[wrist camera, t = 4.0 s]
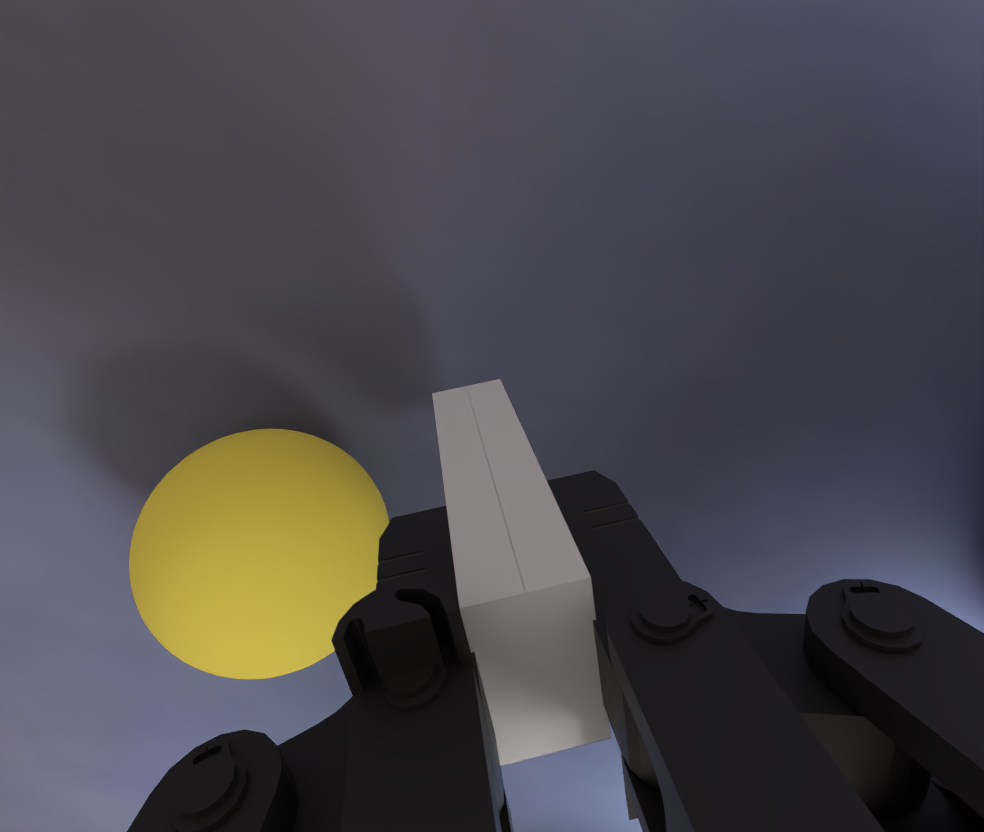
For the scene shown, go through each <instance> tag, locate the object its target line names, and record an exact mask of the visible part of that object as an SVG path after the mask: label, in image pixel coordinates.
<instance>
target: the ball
mask: <svg viewBox="0 0 984 832" xmlns="http://www.w3.org/2000/svg"><path fill="white" fill-rule="evenodd" d="M389 523H390V521H389V518H388V514H387V510H386V506H385V503H384V501H383V499H382V496H381V494H380V492H379V490H378V488H377V487H376V485H375V484H374V482H373V480H372V479H371V477H370V476H369V474H368V473H367V472H366V471H365V470H364V468H363V467H362V466H361V465H360V464H359V463H358V462H357V461H356V460H355V459H354V458H353V457H351V456H350V455H349V454H347V453H346V452H345V451H343V450H342V449H340V448H339V447H337V446H335V445H333V444H332V443H330V442H328V441H326V440H323V439H321V438H318V437H316V436H313V435H310V434H306V433H303V432H299V431H293V430H287V429H271V428H270V429H255V430H250V431H244V432H239V433H235V434H232V435H229V436H225V437H222V438H219V439H217V440H215V441H213V442H211V443H209V444H207V445H205V446H203V447H201V448H199V449H197V450H196V451H194V452H193V453H191V454H190V455H188V456H187V457H185V458H184V459H183V460H182V461H181V462H180V463H178V464H177V465H176V466H175V467H174V468H173V469H172V470H170V471H169V472H168V473H167V474H166V475H165V476H164V478H163V479H162V480H161V481H160V482H159V484H158V485H157V486H156V487H155V489H154V490H153V492H152V493H151V494H150V496H149V498H148V500H147V501H146V503H145V505H144V506H143V508H142V511H141V513H140V515H139V518H138V521H137V523H136V526H135V528H134V532H133V537H132V542H131V547H130V553H129V574H130V583H131V589H132V593H133V596H134V599H135V603H136V605H137V608H138V611H139V613H140V615H141V617H142V619H143V621H144V623H145V624H146V626H147V627H148V628H149V630H150V631H151V633H152V634H153V635H154V636H155V638H156V639H157V640H158V641H159V642H160V643H161V644H162V645H163V646H164V647H165V648H166V649H167V650H168V651H169V652H170V653H172V654H173V655H174V656H176V657H177V658H179V659H180V660H182V661H183V662H185V663H187V664H189V665H191V666H193V667H194V668H197V669H199V670H202V671H204V672H207V673H210V674H214V675H217V676H222V677H227V678H234V679H265V678H272V677H277V676H282V675H285V674H288V673H292V672H295V671H298V670H301V669H303V668H306V667H308V666H310V665H312V664H314V663H316V662H318V661H319V660H321V659H323V658H325V657H326V656H328V655H329V654H331V653H332V652H334V651H335V649H334V646H333V644H332V641H331V640H332V637H333V634H334V632H335V629H336V627H337V624H338V622H339V620H340V619H341V618H342V617H343V616H344V614H345V613H346V612H347V611H348V610H349V609H350V608H351V606H352V605H353V604H354V603H356V602H357V601H359V600H360V599H362V598H363V597H365V596H366V595H368V594H369V593H371V592H372V591H374V590H376V583H377V566H378V565H379V564H378V550H379V538H380V537H381V535H382V534H383V532H384V531H385V529H386V527H387V526H388V524H389Z"/></svg>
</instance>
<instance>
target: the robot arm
mask: <svg viewBox="0 0 984 832" xmlns="http://www.w3.org/2000/svg"><path fill="white" fill-rule="evenodd" d="M432 397H433V405H434V413H435V420H436V428H437V436H438V444H439V452H440V460H441V467H442V475H443V483H444V491H445V499H446V506H443V507H439V508H434V509H430V510H425V511H421V512H417V513H412V514H408V515H403V516H399V517H394V518H392V520H391V521H390V523H389V524H388V526H387V527H386V529H385V531H384V532H383V534H382V535H381V537H380V538H379V550H378V564H379V565H378V566H377V583H376V590H374V591H372V592H371V593H369V594H368V595H366V596H365V597H363V598H362V599H360V600H359V601H357V602H356V603H354V604H353V605H352V606H351V608H350V609H349V610H348V611H347V612H346V613H345V614H344V616H343V617H342V618H341V619H340V620H339V622H338V624H337V627H336V629H335V632H334V634H333V637H332V640H331V641H332V644H333V646H334V649H335V651H336V654H337V657H338V659H339V662H340V664H341V667H342V669H343V672H344V674H345V677H346V679H347V682H348V685H349V687H350V690H351V692H352V695H353V696H352V697H351V699H350V700H349V701H348V702H346V703H345V704H344V705H343V706H342V707H341V708H340V709H339V710H338V711H337V712H335V713H334V714H332V715H331V716H329V717H328V718H326V719H325V720H323V721H322V722H320V723H319V724H317V725H315V726H313V727H311V728H310V729H308V730H306V731H304V732H302V733H300V734H298V735H297V736H295V737H293V738H291V739H289V740H287V741H286V742H284V743H282V744H280V745H278V746H277V745H276V744H275V743H274V742H273V741H272V740H271V739H270V738H269V737H268V736H267V735H266V734H265V733H260V732H255V731H250V730H240V731H236V732H231V733H226V734H221V735H219V736H217V737H215V738H213V739H211V740H209V741H207V742H205V743H204V744H202V745H200V746H198V747H196V748H194V749H193V750H192V751H191V752H189V753H188V754H187V755H186V756H185V757H183V758H182V759H181V760H180V761H179V762H177V763H176V764H175V765H174V766H173V767H172V768H170V769H169V771H168V772H167V773H166V775H165V776H164V777H163V778H162V780H161V781H160V782H159V783H158V785H157V786H156V787H155V789H154V790H153V791H152V792H151V794H150V795H149V797H148V798H147V800H146V802H145V803H144V805H143V807H142V808H141V810H140V811H139V813H138V815H137V816H136V818H135V820H134V821H133V823H132V825H131V826H130V828H129V829H128V831H127V832H514V831H513V825H512V819H511V814H510V809H509V805H508V802H507V798H506V794H505V790H504V786H503V779H502V773H501V767H500V766H503V765H507V764H511V763H515V762H519V761H523V760H527V759H531V758H535V757H539V756H543V755H546V754H550V753H554V752H558V751H562V750H566V749H570V748H574V747H578V746H582V745H586V744H590V743H593V742H597V741H601V740H605V739H609V738H611V735H610V727H609V721H610V723H611V726H612V729H613V731H614V734H615V737H616V739H617V742H618V745H619V747H620V750H621V757H622V766H623V775H624V783H625V792H626V801H627V807H628V814H629V820H631V819H635V818H638V819H639V822H640V825H641V828H642V831H643V832H984V633H982V632H980V631H979V630H977V629H975V628H974V627H972V626H970V625H969V624H967V623H965V622H964V621H962V620H960V619H959V618H957V617H955V616H954V615H952V614H950V613H949V612H947V611H945V610H944V609H942V608H940V607H939V606H937V605H935V604H934V603H932V602H930V601H929V600H927V599H925V598H923V597H921V596H919V595H916V594H914V593H912V592H910V591H908V590H906V589H903V588H901V587H899V586H896V585H891V584H887V583H883V582H878V581H874V580H863V579H843V580H840V581H836V582H833V583H829V584H826V585H823V586H822V587H820V588H819V589H818V590H817V591H816V592H815V593H813V594H812V595H811V596H810V597H809V601H808V605H807V610H806V614H771V613H750V612H741V611H735V610H731V609H728V608H724V607H722V605H721V604H719V603H718V602H717V601H716V600H715V599H714V598H713V597H712V596H711V595H710V594H709V593H708V592H707V591H705V590H703V589H700V588H698V587H696V586H694V585H692V584H690V583H688V582H684V581H682V580H681V579H680V578H679V576H678V575H677V573H676V572H675V570H674V569H673V567H672V566H671V564H670V563H669V561H668V560H667V558H666V557H665V555H664V554H663V552H662V551H661V549H660V548H659V546H658V545H657V543H656V542H655V541H654V539H653V538H652V536H651V535H650V533H649V532H648V530H647V529H646V527H645V526H644V524H643V523H642V521H641V520H639V519H638V515H637V514H636V512H635V511H634V509H633V508H632V506H631V505H630V504H628V500H627V499H626V497H625V496H624V494H623V493H622V492H621V490H620V489H619V487H618V486H617V484H616V483H615V482H613V481H612V480H610V479H608V478H606V477H605V476H603V475H601V474H599V473H598V472H596V471H594V470H593V471H589V472H584V473H580V474H575V475H571V476H567V477H562V478H558V479H553V480H549V481H547V480H546V478H545V476H544V474H543V472H542V469H541V467H540V465H539V463H538V461H537V458H536V456H535V454H534V452H533V450H532V448H531V445H530V443H529V441H528V439H527V437H526V434H525V432H524V430H523V428H522V426H521V424H520V421H519V419H518V417H517V415H516V413H515V410H514V408H513V406H512V404H511V402H510V399H509V397H508V395H507V393H506V391H505V389H504V386H503V384H502V382H501V380H500V379H497V380H492V381H488V382H483V383H478V384H473V385H469V386H464V387H459V388H455V389H450V390H445V391H441V392H436V393H432ZM608 718H609V719H608Z"/></svg>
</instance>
